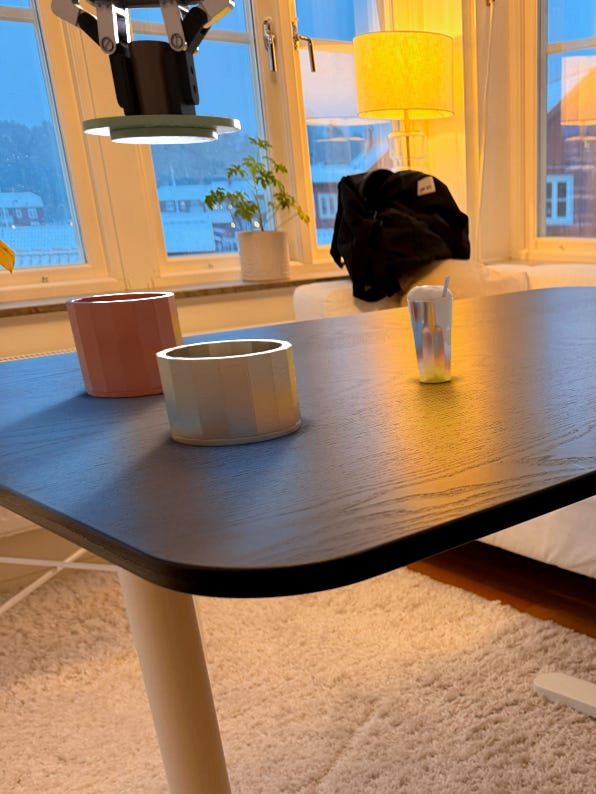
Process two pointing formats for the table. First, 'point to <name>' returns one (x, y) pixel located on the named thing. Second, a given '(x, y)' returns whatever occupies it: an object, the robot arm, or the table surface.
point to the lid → (157, 107)
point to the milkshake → (432, 330)
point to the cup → (123, 340)
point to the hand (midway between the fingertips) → (161, 115)
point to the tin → (230, 391)
